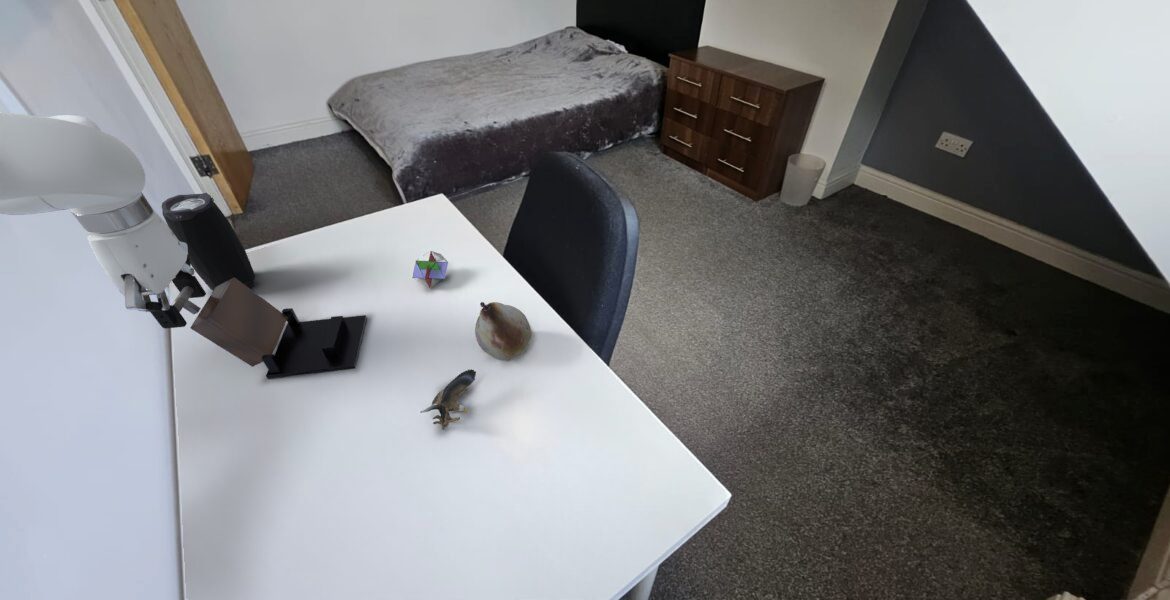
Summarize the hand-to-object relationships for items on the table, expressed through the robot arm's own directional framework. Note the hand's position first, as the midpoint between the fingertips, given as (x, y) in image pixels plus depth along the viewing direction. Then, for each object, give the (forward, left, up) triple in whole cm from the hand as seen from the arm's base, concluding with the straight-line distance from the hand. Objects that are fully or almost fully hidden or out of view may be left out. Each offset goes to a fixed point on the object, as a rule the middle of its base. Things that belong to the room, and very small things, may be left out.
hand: (185, 310), depth 75 cm
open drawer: (+8, 0, -1) cm, 8 cm away
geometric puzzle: (+36, +16, -11) cm, 41 cm away
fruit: (+50, -6, -11) cm, 51 cm away
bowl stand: (+17, 0, -11) cm, 20 cm away
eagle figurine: (+41, -18, -11) cm, 46 cm away
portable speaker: (-4, +21, -11) cm, 24 cm away
